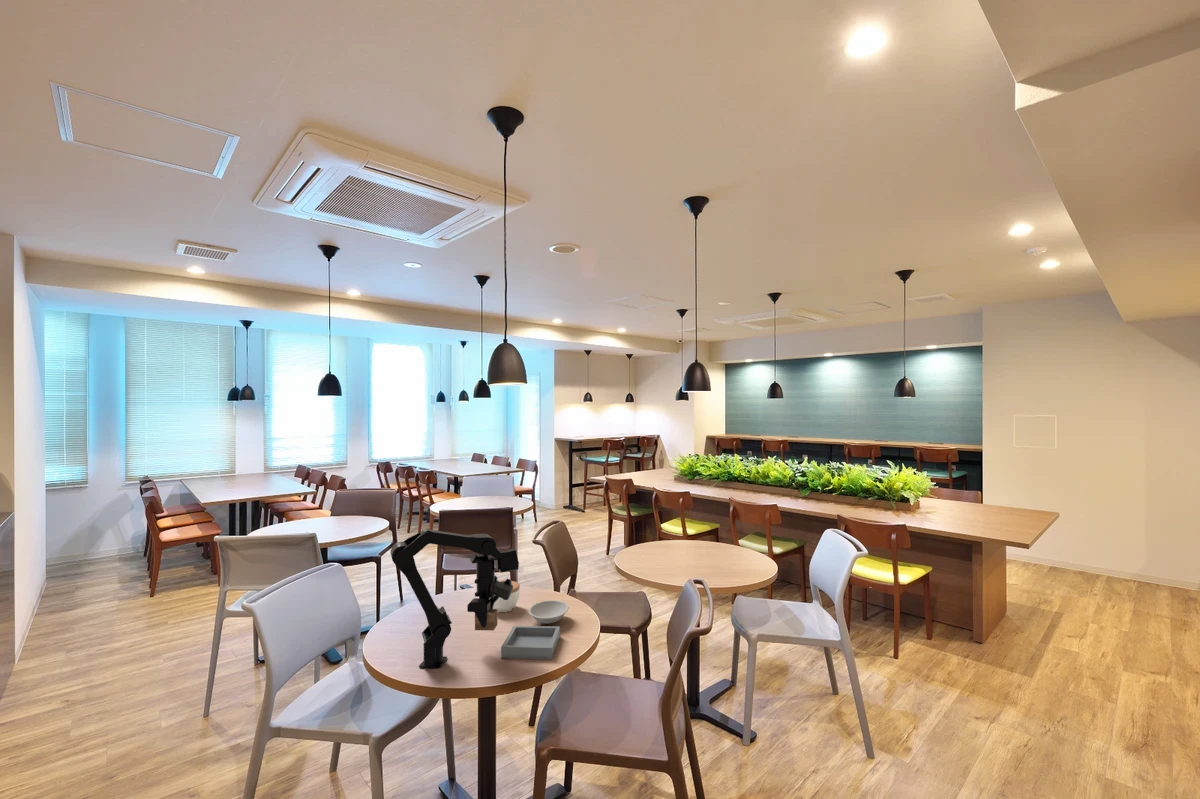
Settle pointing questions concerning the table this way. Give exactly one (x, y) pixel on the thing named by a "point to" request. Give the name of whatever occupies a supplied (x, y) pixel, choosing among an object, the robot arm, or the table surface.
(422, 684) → the table surface
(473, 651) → the table surface
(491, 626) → the walnut block
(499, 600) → the lidded bowl
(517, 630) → the tray
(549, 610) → the dish
